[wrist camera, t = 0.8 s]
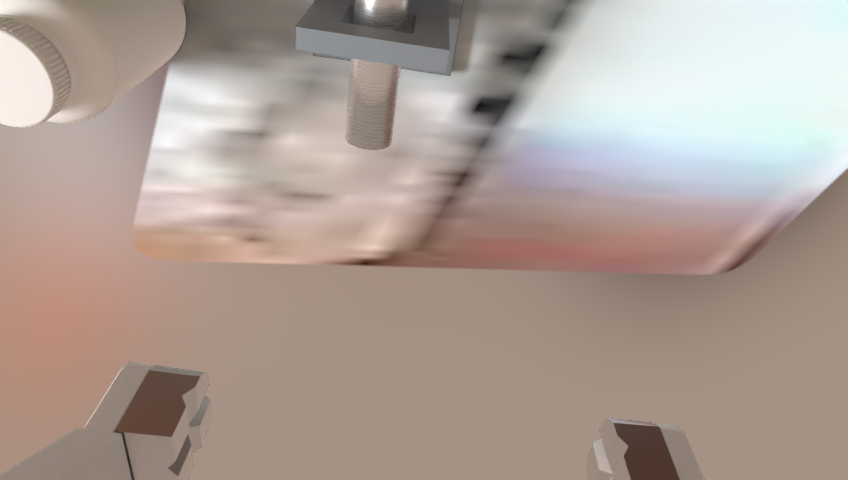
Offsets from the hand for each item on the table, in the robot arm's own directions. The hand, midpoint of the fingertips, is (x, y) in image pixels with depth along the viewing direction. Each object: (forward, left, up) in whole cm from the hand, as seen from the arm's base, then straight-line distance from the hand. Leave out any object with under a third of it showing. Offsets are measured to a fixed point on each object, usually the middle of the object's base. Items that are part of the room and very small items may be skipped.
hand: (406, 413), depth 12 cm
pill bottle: (+3, -21, -35) cm, 41 cm away
